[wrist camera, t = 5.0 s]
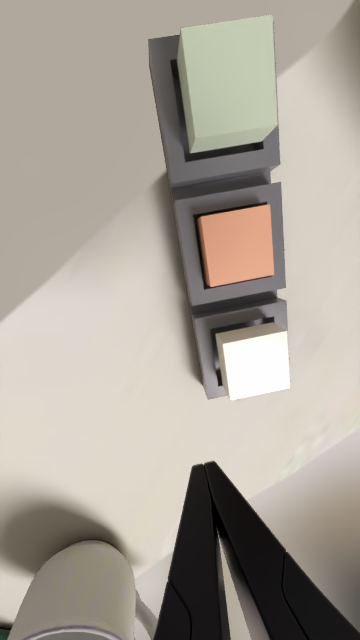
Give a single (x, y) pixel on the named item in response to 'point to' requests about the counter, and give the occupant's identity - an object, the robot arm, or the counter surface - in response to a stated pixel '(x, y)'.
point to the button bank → (213, 198)
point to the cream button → (253, 360)
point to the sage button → (228, 82)
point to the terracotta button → (236, 245)
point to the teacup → (83, 598)
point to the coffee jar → (4, 634)
